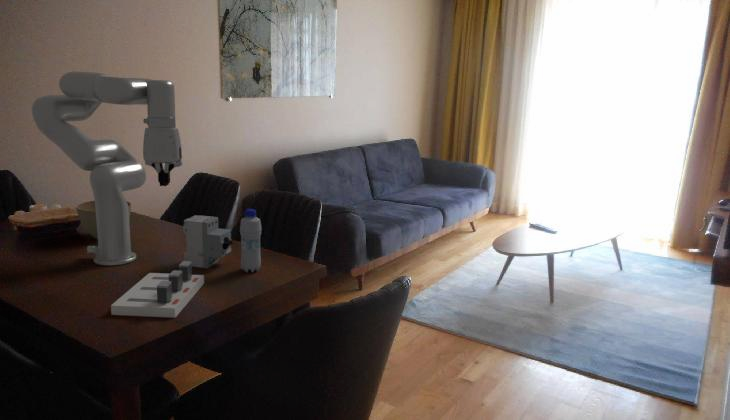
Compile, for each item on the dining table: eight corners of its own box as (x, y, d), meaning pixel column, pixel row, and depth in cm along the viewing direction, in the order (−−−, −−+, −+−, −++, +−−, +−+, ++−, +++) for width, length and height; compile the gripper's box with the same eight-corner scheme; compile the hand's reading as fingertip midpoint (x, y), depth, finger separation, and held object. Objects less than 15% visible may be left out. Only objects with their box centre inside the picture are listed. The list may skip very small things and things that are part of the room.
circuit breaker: (225, 270, 169) (225, 224, 165) (184, 265, 171) (183, 220, 168) (236, 263, 176) (235, 219, 172) (196, 258, 178) (195, 215, 175)
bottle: (238, 267, 171) (237, 207, 167) (259, 265, 174) (259, 206, 169) (242, 274, 165) (241, 212, 161) (263, 272, 168) (263, 211, 163)
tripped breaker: (169, 290, 143) (168, 274, 142) (173, 285, 146) (173, 270, 145) (178, 291, 143) (177, 275, 142) (182, 286, 146) (182, 270, 145)
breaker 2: (179, 280, 151) (178, 265, 150) (183, 275, 154) (183, 260, 153) (187, 280, 151) (187, 265, 150) (191, 276, 154) (191, 261, 153)
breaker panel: (111, 314, 133) (110, 305, 133) (149, 280, 157) (149, 272, 156) (175, 317, 134) (174, 308, 133) (204, 283, 157) (203, 275, 156)
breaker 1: (157, 302, 135) (156, 285, 134) (162, 296, 138) (162, 280, 137) (166, 302, 135) (166, 286, 134) (172, 297, 138) (171, 281, 137)
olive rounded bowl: (68, 237, 195) (65, 205, 192) (113, 227, 210) (111, 197, 207) (97, 246, 186) (95, 213, 183) (143, 236, 201) (141, 204, 198)
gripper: (130, 123, 152) (134, 186, 156) (183, 125, 152) (185, 188, 156) (141, 121, 159) (144, 182, 163) (191, 123, 159) (193, 184, 163)
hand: (164, 185), depth 159 cm, fingers closed
